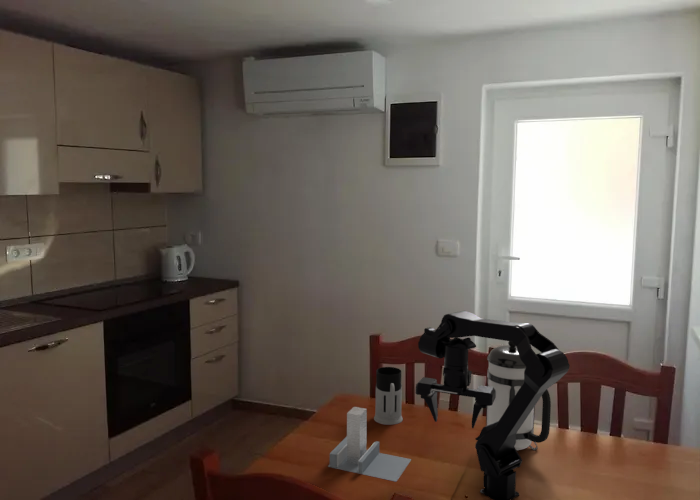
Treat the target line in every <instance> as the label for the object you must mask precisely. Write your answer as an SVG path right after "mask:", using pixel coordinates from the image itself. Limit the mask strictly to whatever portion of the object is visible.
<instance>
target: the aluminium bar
mask: <svg viewBox="0 0 700 500" xmlns="http://www.w3.org/2000/svg"><path fill="white" fill-rule="evenodd" d="M367 413H368V411H367V408H364V407H359V406H353V407H352V408H351V409H349V410H348V411H347V413H346V437H347V463H351V464H356V465H358V461H359V459H360V458H361V457H362V456H363V455H364V454H365V453H366V450H367V433H368V432H367V431H368V430H367V428H368V427H367V423H368V422H367V416H368V414H367Z"/></svg>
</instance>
